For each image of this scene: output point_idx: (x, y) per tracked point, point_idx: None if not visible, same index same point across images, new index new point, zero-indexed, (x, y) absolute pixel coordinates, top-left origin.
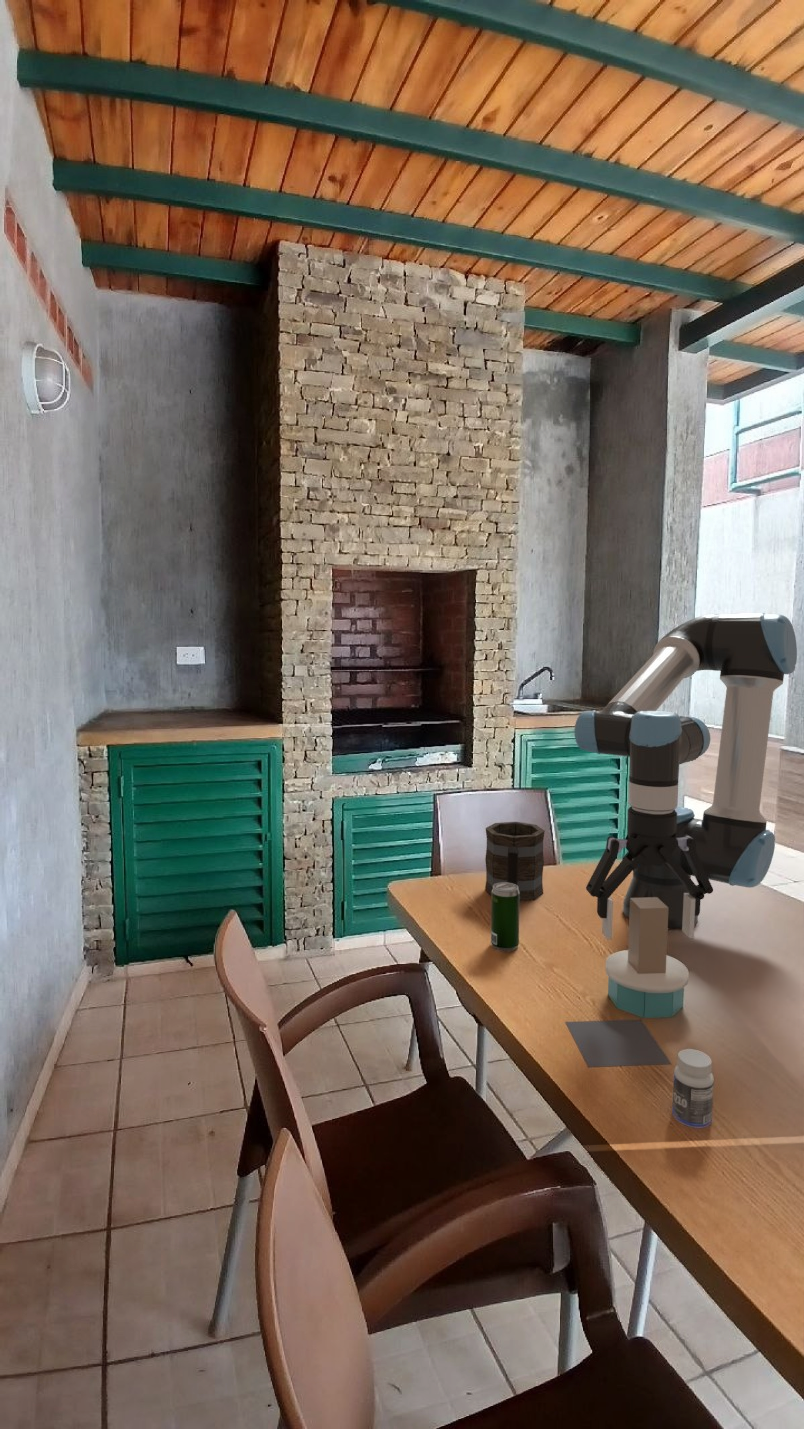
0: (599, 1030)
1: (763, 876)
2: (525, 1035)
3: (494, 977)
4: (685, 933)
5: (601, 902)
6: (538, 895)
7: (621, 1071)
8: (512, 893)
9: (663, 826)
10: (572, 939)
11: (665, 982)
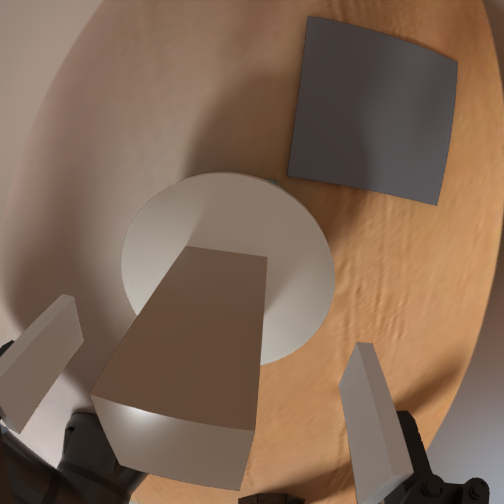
0: (394, 157)
1: None
2: (497, 193)
3: (439, 364)
4: (78, 321)
5: (425, 465)
6: (248, 498)
7: (404, 37)
8: (383, 501)
9: None
10: (257, 438)
11: (212, 194)
